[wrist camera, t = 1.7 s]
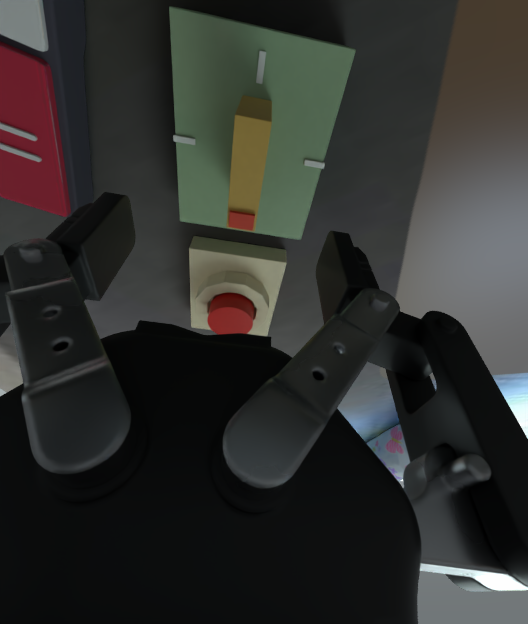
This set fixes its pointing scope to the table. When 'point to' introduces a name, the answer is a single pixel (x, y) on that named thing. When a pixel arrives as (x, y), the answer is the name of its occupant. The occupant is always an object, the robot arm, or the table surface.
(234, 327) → the button
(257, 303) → the box
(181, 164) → the plate
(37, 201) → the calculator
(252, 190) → the lock turn
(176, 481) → the robot arm
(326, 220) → the table surface
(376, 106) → the table surface
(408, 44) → the table surface
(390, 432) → the pencil case
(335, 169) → the table surface
